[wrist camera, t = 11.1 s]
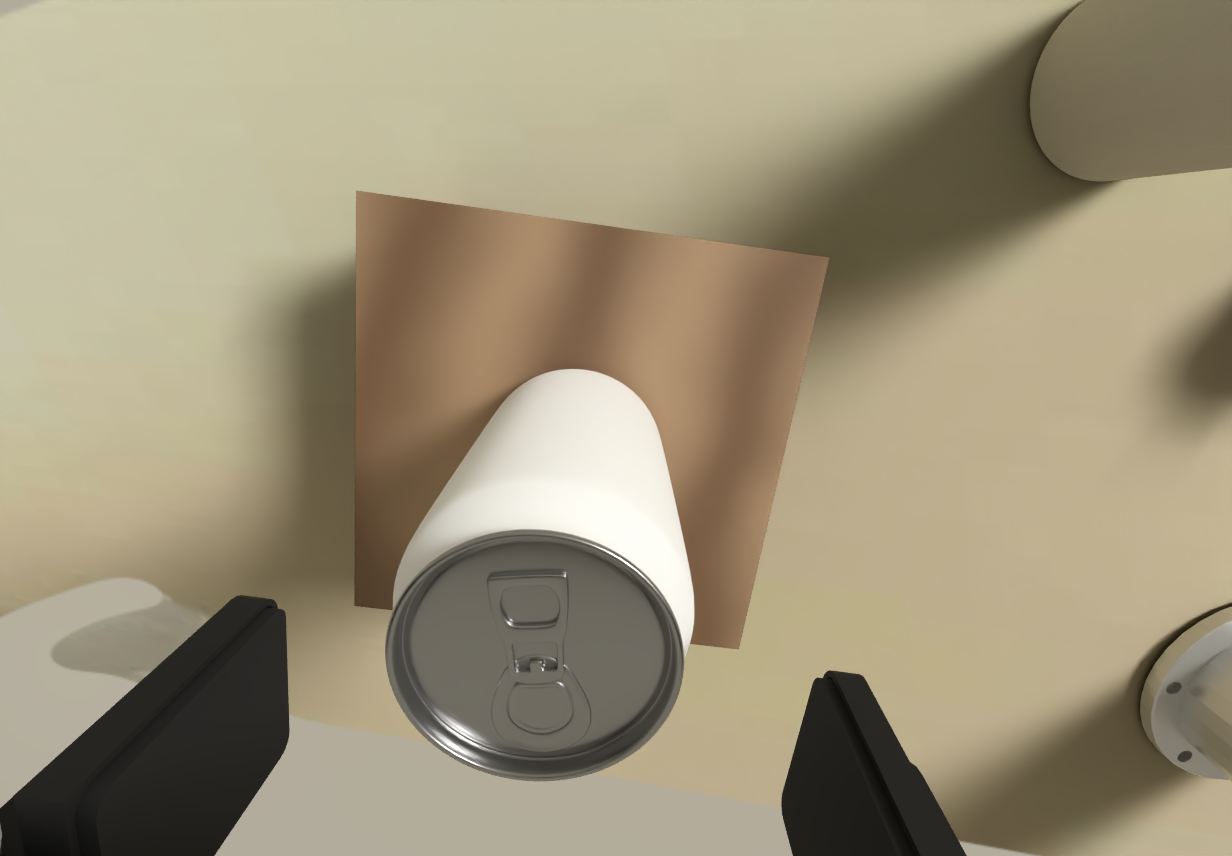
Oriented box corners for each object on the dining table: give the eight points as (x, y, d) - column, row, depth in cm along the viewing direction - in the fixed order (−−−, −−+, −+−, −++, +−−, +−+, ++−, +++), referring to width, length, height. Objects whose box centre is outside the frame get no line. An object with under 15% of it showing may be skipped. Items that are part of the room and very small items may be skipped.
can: (498, 531, 24) (390, 804, 12) (479, 369, 22) (331, 517, 10) (663, 524, 24) (707, 793, 12) (659, 361, 22) (707, 501, 10)
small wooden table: (766, 250, 29) (829, 257, 21) (707, 544, 34) (738, 649, 26) (434, 204, 29) (356, 190, 20) (421, 510, 33) (354, 605, 25)
